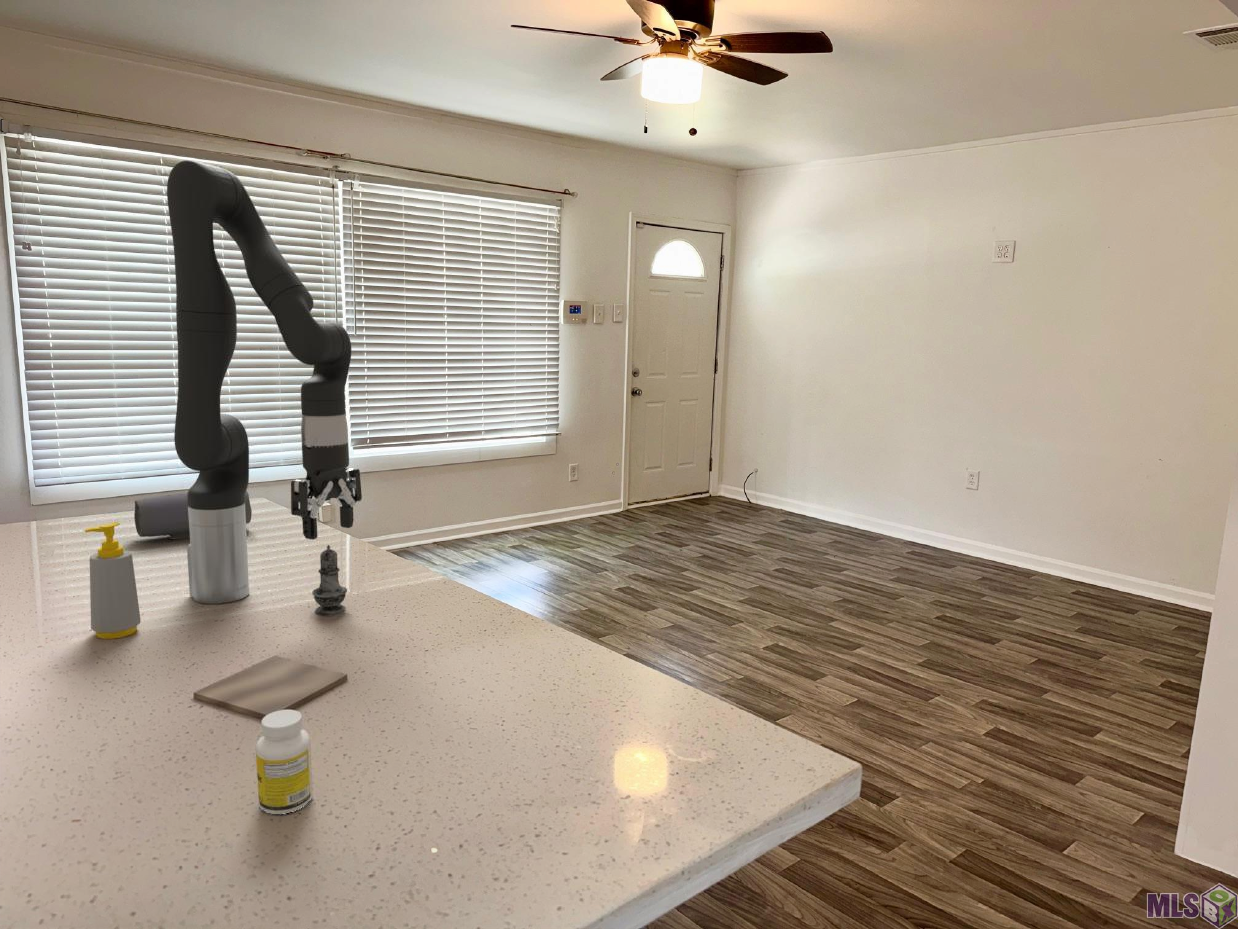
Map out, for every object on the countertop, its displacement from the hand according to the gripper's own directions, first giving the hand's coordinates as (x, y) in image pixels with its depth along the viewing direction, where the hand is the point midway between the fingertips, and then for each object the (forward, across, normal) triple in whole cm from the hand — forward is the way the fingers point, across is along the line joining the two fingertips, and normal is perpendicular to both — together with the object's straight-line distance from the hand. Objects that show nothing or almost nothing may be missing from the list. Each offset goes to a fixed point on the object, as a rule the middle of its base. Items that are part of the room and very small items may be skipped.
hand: (329, 532), depth 142 cm
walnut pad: (+14, +27, +14) cm, 34 cm away
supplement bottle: (+15, +46, +36) cm, 61 cm away
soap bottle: (+14, +24, -22) cm, 36 cm away
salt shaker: (+14, 0, 0) cm, 14 cm away
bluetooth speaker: (+14, -22, -61) cm, 67 cm away
